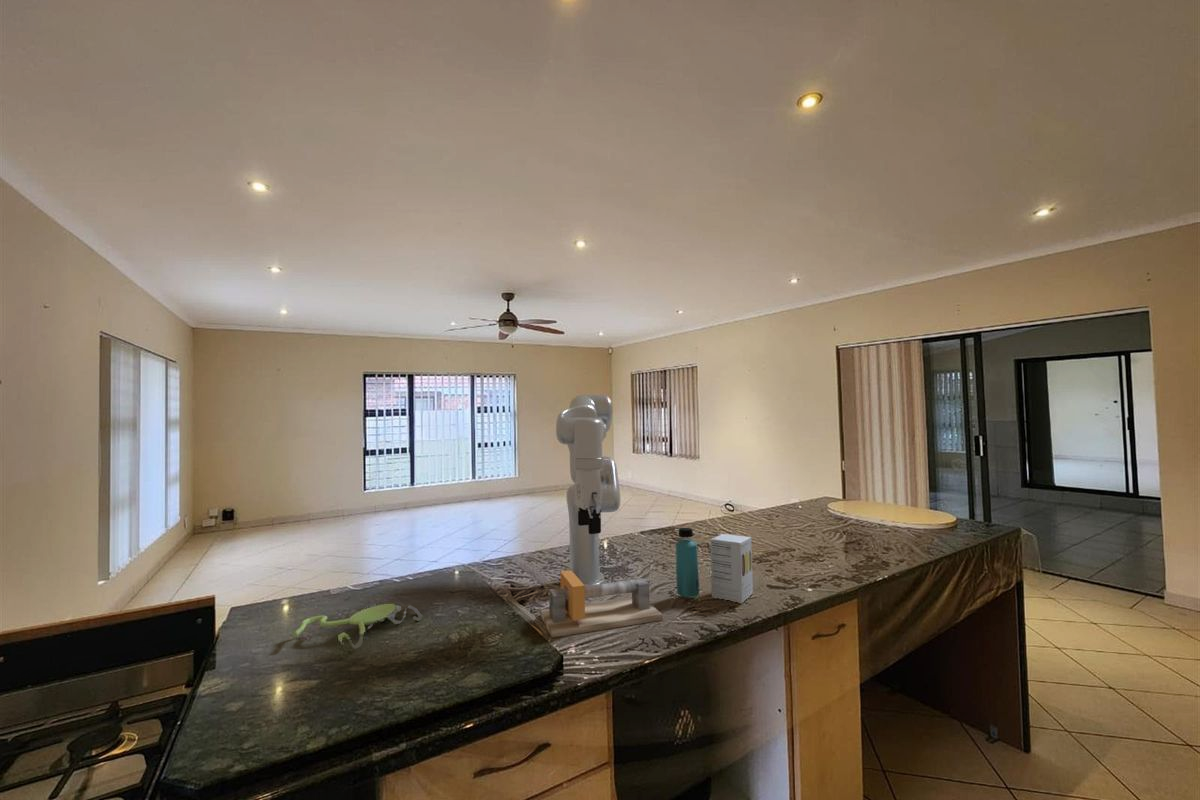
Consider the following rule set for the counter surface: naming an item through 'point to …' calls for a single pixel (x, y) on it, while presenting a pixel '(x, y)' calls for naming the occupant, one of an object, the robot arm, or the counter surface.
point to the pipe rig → (601, 608)
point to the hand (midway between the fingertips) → (589, 529)
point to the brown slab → (573, 595)
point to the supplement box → (731, 567)
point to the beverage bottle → (687, 565)
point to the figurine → (352, 619)
